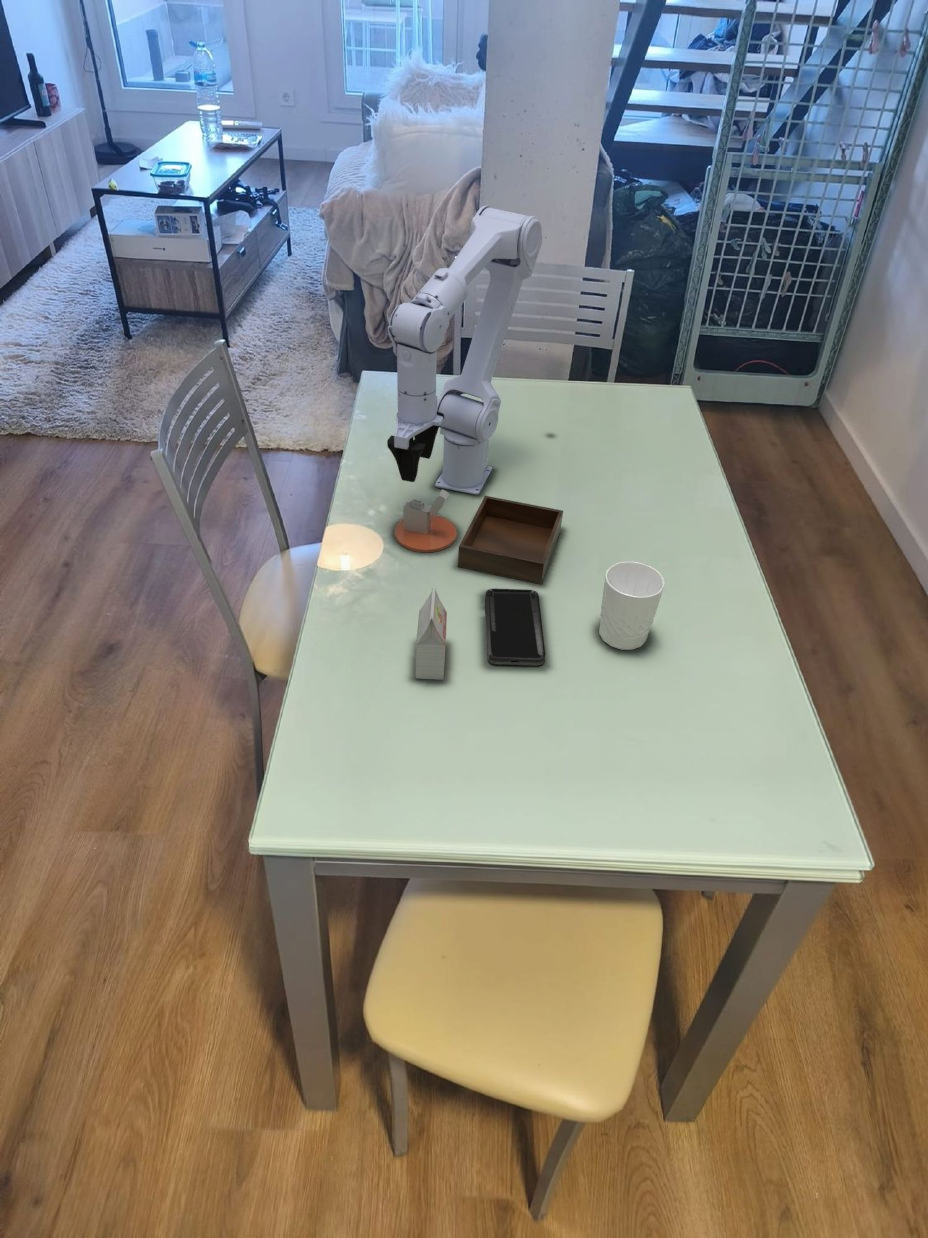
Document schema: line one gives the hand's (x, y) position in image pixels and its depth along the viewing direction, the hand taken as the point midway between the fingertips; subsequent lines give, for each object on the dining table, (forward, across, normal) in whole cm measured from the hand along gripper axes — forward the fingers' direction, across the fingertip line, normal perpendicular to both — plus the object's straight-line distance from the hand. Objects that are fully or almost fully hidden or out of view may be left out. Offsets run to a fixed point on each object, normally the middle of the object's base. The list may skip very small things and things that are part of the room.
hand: (416, 468), depth 130 cm
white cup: (+10, -18, -37) cm, 42 cm away
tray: (+9, -3, -17) cm, 20 cm away
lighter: (+9, -4, -3) cm, 10 cm away
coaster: (+9, -4, -3) cm, 11 cm away
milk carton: (+10, -32, -13) cm, 36 cm away
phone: (+9, -22, -22) cm, 33 cm away
